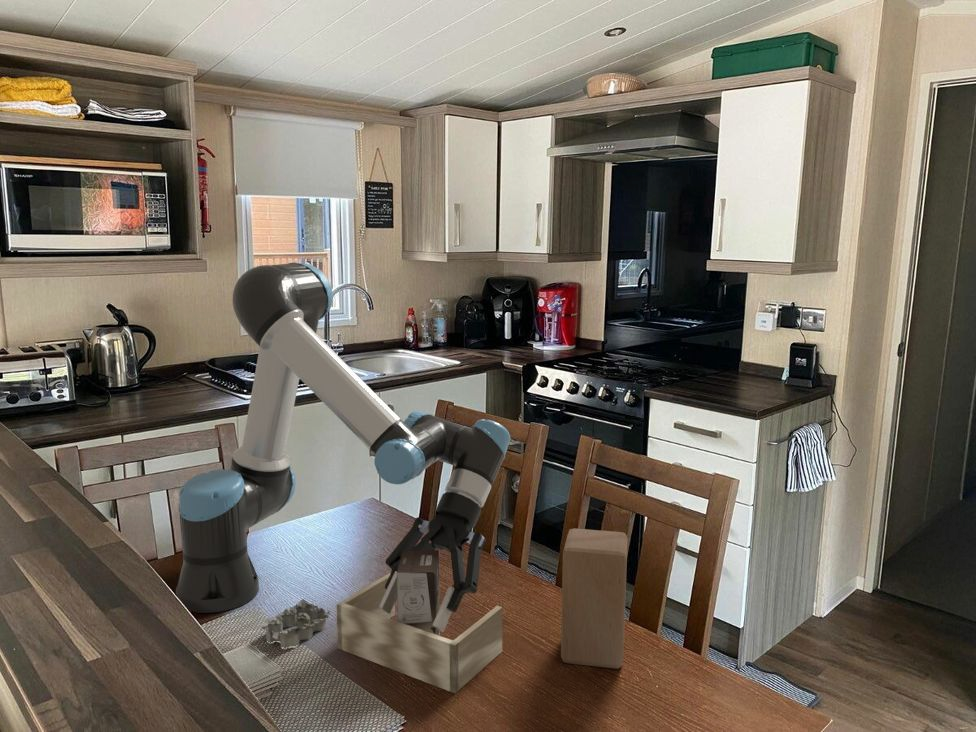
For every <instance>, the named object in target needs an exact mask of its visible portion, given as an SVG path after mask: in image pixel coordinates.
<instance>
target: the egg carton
mask: <svg viewBox="0 0 976 732" xmlns="http://www.w3.org/2000/svg"><path fill="white" fill-rule="evenodd" d="M330 614H331V612H330V611H327V612H326V611H325V610H324V608H323V607H319V606H318V605H316V604H313V603H310V602H308V601H307V600H305V599H304V598H303V599H301V600H300V601H299V602H298V603H296V604H295V605H294V606H291V607H289V608H285V609H284V610H283V611H281V612H280V613H278V614H276V616H273V617H270V618H267V619H265V620H264V621H263V623H262V625H261V631H264V630H265V631H266V632H265V639H266V640H265V641H268V642H270V643H271V642H273V641H280V642H281V643H280V648H281V647H284V648H286V647H289V646H296V645H298V644H300V641H303V640H311V639H312V638H313V633H315V632H319V631H320V632H323V631H325V630H326V629H327V626H326V624H327V620H328V619H329V615H330ZM295 626H296V627H295ZM284 628H289V629H287V630H286V631H287V632H284ZM282 631H283V632H282ZM280 632H281V633H280Z"/></svg>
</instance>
